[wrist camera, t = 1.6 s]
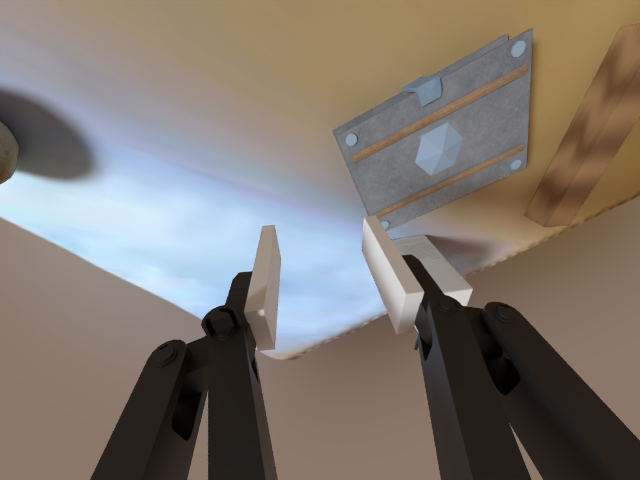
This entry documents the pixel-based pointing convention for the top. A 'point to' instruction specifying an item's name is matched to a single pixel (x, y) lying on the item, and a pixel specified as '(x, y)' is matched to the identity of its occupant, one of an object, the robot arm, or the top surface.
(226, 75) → the top surface
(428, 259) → the small box
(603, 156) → the rail
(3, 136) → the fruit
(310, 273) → the top surface
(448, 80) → the book
